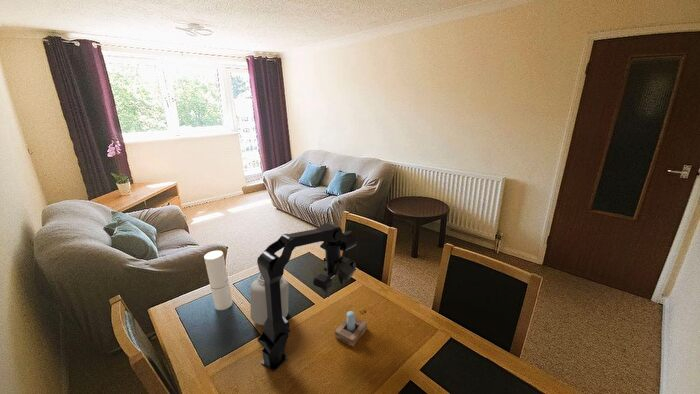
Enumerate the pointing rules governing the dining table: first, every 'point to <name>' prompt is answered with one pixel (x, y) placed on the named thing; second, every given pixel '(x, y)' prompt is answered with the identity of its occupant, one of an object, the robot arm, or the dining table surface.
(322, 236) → the robot arm
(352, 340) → the socket block
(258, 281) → the jar
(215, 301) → the cylindrical container
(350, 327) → the dowel
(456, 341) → the dining table surface
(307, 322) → the dining table surface
